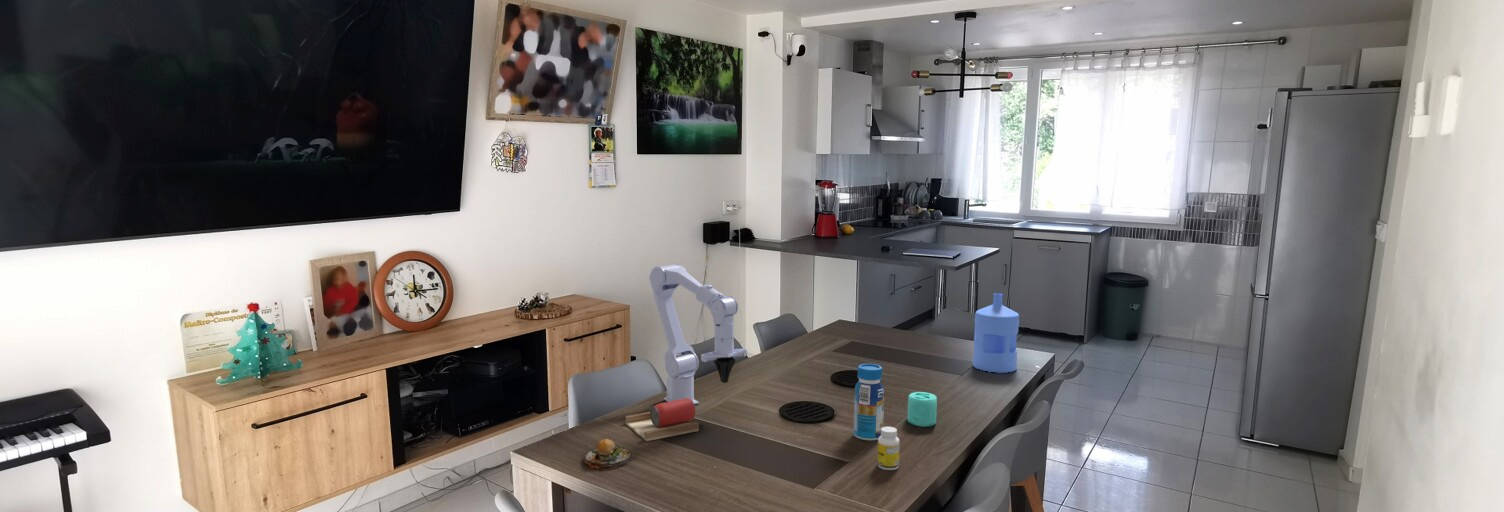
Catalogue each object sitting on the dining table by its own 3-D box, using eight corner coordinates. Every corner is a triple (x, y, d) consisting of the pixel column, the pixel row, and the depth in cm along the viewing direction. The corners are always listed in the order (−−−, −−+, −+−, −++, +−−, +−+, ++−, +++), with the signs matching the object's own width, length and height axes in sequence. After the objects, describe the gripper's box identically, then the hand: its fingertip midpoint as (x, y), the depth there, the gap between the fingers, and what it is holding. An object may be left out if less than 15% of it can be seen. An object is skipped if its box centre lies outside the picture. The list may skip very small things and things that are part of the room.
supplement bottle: (874, 462, 192) (875, 425, 191) (895, 461, 193) (896, 425, 191) (880, 471, 187) (881, 433, 186) (901, 470, 187) (902, 432, 186)
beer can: (698, 413, 217) (661, 420, 210) (691, 424, 221) (654, 432, 215) (691, 393, 220) (653, 400, 214) (683, 404, 225) (647, 412, 218)
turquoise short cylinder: (936, 418, 225) (937, 393, 224) (935, 428, 217) (936, 401, 216) (908, 416, 227) (909, 390, 226) (907, 425, 219) (907, 399, 218)
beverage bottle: (847, 432, 213) (849, 364, 210) (873, 429, 216) (875, 361, 213) (862, 443, 205) (863, 372, 202) (889, 439, 208) (891, 369, 205)
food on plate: (640, 458, 195) (640, 430, 194) (610, 474, 185) (609, 445, 184) (605, 448, 201) (605, 422, 200) (574, 464, 191) (573, 436, 190)
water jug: (964, 364, 285) (967, 291, 281) (999, 360, 289) (1003, 289, 286) (988, 375, 270) (992, 298, 266) (1025, 371, 274) (1029, 296, 271)
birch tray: (625, 423, 219) (625, 416, 219) (675, 414, 228) (675, 407, 227) (646, 441, 206) (646, 433, 206) (698, 430, 214) (698, 423, 214)
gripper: (708, 343, 217) (708, 388, 219) (751, 337, 224) (751, 381, 226) (697, 338, 223) (698, 382, 225) (740, 332, 230) (740, 375, 232)
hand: (724, 381), depth 226 cm, fingers closed
